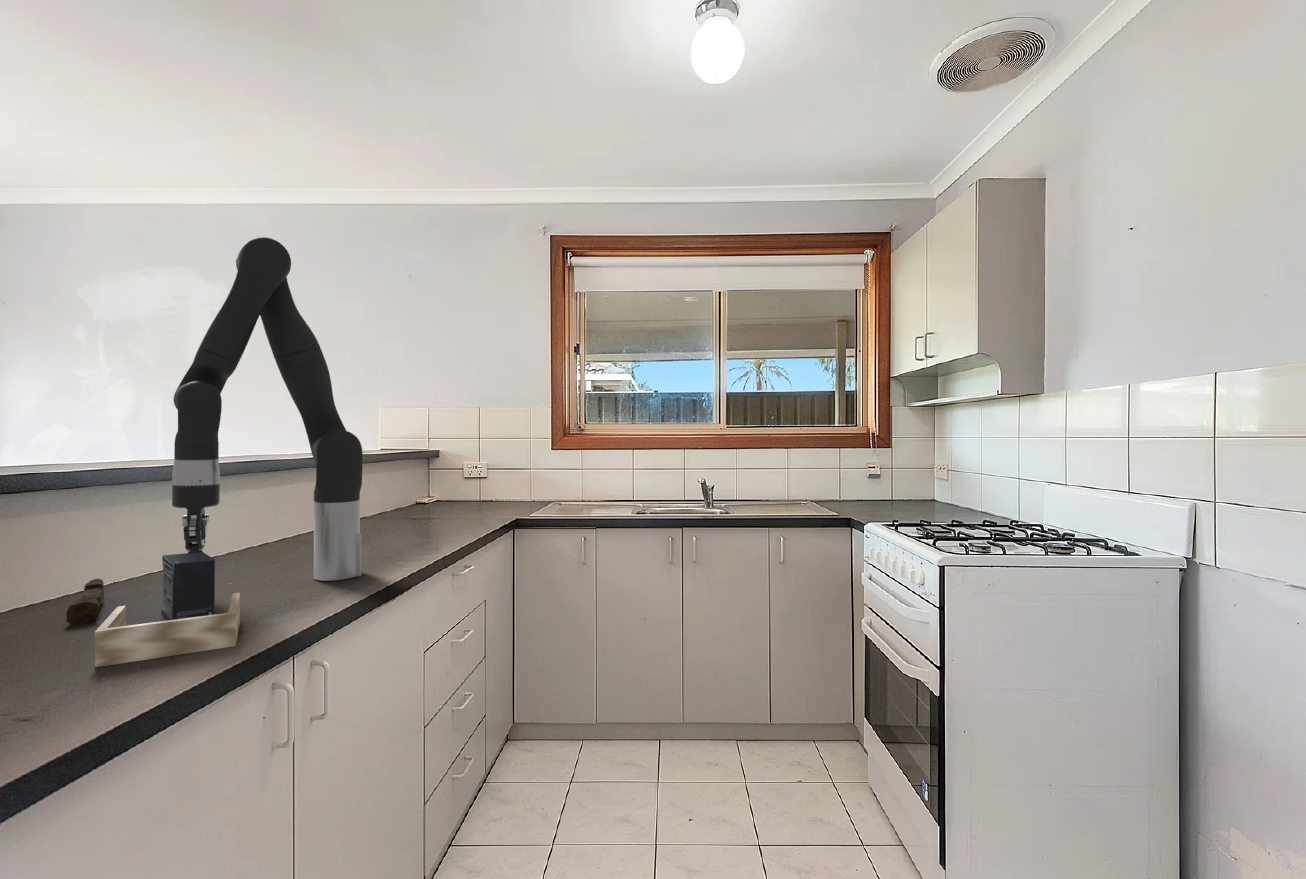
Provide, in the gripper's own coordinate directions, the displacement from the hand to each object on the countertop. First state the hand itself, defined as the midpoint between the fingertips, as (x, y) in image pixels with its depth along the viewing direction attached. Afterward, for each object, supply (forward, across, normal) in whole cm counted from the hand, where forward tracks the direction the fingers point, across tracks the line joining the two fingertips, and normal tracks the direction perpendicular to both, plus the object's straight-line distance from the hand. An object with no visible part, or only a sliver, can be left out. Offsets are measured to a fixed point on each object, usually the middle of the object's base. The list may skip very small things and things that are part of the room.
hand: (195, 569), depth 119 cm
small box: (+6, -14, 0) cm, 15 cm away
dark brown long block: (+6, -2, +16) cm, 17 cm away
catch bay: (+5, -30, 0) cm, 30 cm away
